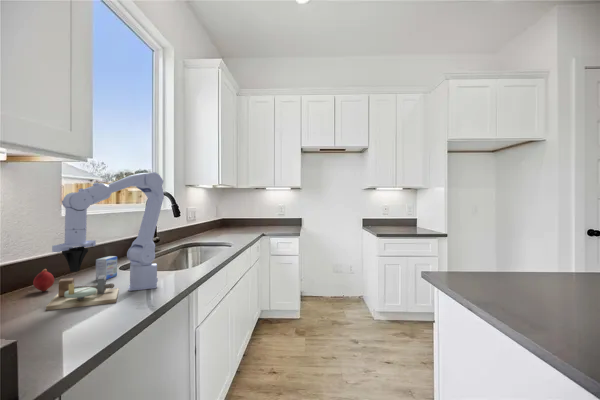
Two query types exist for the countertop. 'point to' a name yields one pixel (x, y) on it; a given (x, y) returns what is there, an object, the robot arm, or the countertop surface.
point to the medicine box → (106, 267)
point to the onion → (43, 280)
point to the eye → (101, 284)
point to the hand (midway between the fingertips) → (74, 271)
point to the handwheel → (79, 292)
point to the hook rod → (65, 287)
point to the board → (84, 300)
